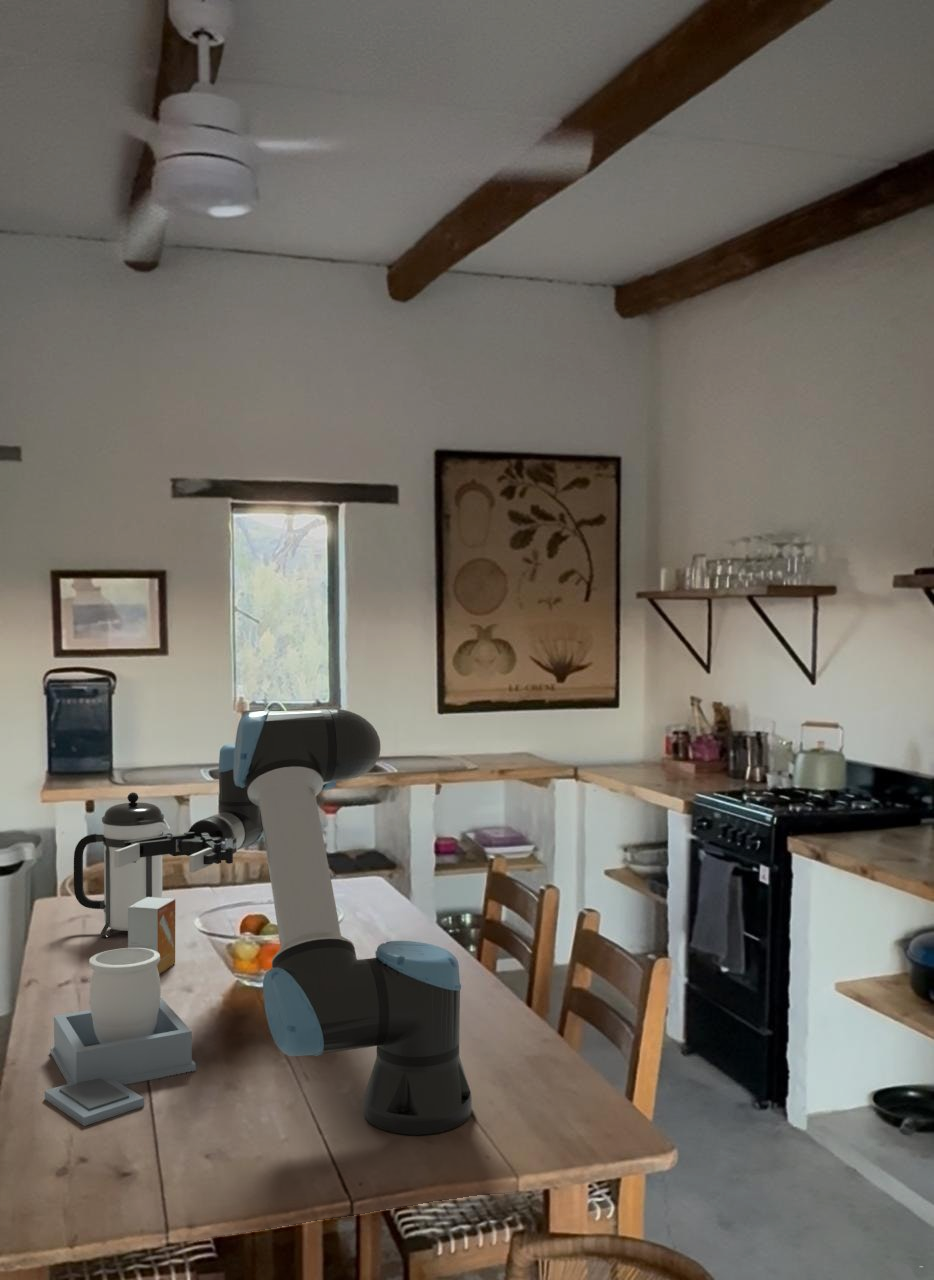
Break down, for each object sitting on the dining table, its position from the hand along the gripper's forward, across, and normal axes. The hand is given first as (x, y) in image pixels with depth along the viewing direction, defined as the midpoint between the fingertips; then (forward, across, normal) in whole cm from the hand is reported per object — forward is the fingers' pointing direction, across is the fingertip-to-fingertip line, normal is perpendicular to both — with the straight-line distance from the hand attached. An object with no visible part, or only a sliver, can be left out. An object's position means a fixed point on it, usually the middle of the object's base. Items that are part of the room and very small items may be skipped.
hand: (153, 861), depth 190 cm
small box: (-32, +19, -29) cm, 47 cm away
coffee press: (-53, +38, -28) cm, 71 cm away
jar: (+9, 0, -28) cm, 29 cm away
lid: (+24, -4, -29) cm, 38 cm away
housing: (+10, 0, -29) cm, 31 cm away
